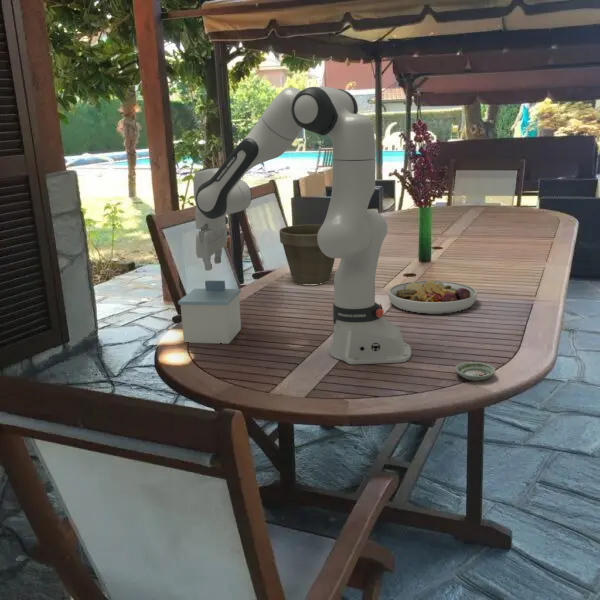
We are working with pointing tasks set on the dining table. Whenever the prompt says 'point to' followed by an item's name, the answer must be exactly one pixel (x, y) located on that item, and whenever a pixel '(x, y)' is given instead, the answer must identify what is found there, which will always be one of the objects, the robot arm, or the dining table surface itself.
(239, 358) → the dining table surface
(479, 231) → the dining table surface
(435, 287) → the bowl
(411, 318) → the dining table surface
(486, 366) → the saucer
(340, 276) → the robot arm
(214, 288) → the lid
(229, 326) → the tub
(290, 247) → the plant pot
